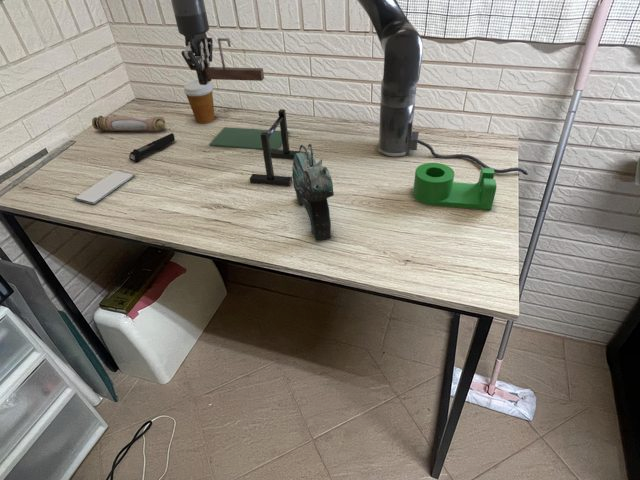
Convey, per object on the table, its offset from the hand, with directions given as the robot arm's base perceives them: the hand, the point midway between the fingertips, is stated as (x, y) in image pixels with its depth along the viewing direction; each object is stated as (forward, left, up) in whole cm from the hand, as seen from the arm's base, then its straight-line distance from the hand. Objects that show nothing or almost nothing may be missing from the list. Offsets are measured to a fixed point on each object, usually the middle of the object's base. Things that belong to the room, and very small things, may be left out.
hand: (205, 82), depth 114 cm
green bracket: (-66, +12, -21) cm, 71 cm away
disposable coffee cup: (+16, -22, -21) cm, 34 cm away
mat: (-5, -10, -21) cm, 24 cm away
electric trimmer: (+22, +2, -21) cm, 30 cm away
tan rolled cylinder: (+37, -10, -18) cm, 42 cm away
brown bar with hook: (-8, 0, +1) cm, 8 cm away
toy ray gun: (-35, +27, -21) cm, 49 cm away
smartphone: (+24, +23, -21) cm, 39 cm away
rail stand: (-20, +6, -21) cm, 30 cm away
